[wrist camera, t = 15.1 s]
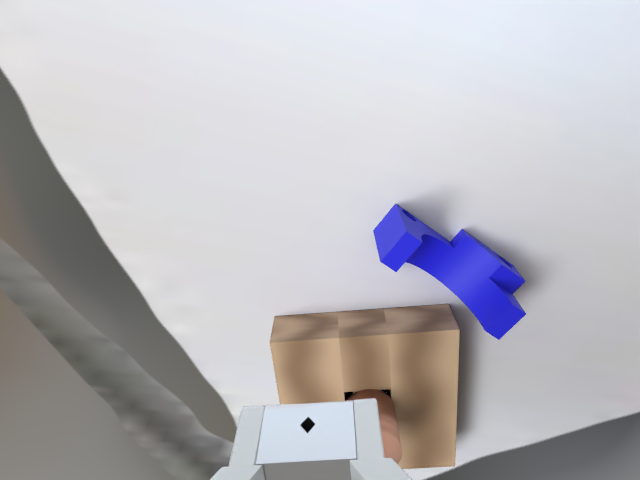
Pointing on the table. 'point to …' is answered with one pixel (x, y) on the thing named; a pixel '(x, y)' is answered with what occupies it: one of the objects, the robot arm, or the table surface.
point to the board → (378, 369)
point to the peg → (384, 421)
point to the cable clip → (454, 267)
